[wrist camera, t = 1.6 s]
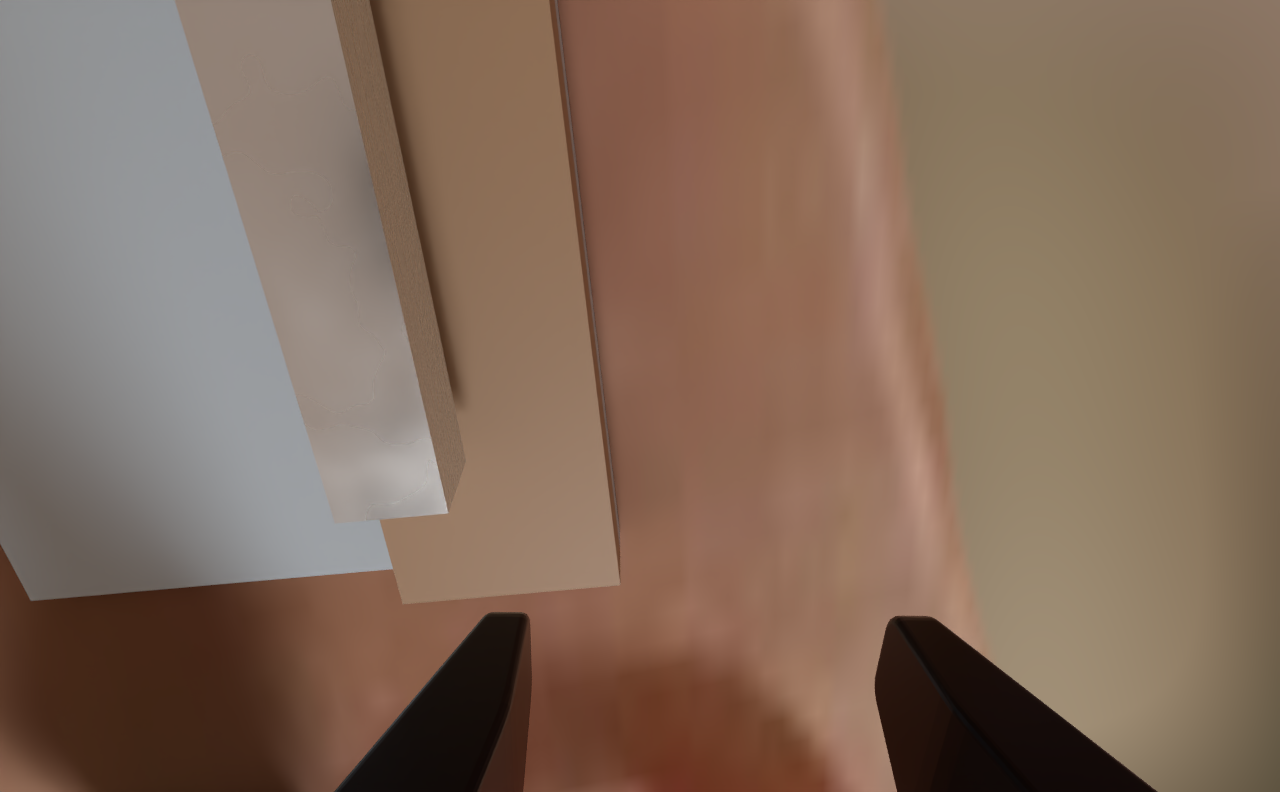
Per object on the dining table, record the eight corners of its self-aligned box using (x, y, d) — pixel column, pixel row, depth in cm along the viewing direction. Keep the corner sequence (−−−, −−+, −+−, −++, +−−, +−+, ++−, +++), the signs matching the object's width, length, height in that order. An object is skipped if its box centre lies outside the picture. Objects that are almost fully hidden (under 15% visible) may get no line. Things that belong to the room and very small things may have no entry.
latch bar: (113, -311, 11) (-13, -394, 9) (334, -332, 11) (264, -422, 9) (341, 472, 17) (299, 541, 15) (489, 458, 17) (470, 526, 15)
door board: (49, 581, 22) (-119, 749, 17) (-434, -357, 13) (-1077, -590, 8) (619, 531, 22) (621, 685, 17) (503, -452, 13) (434, -750, 8)
